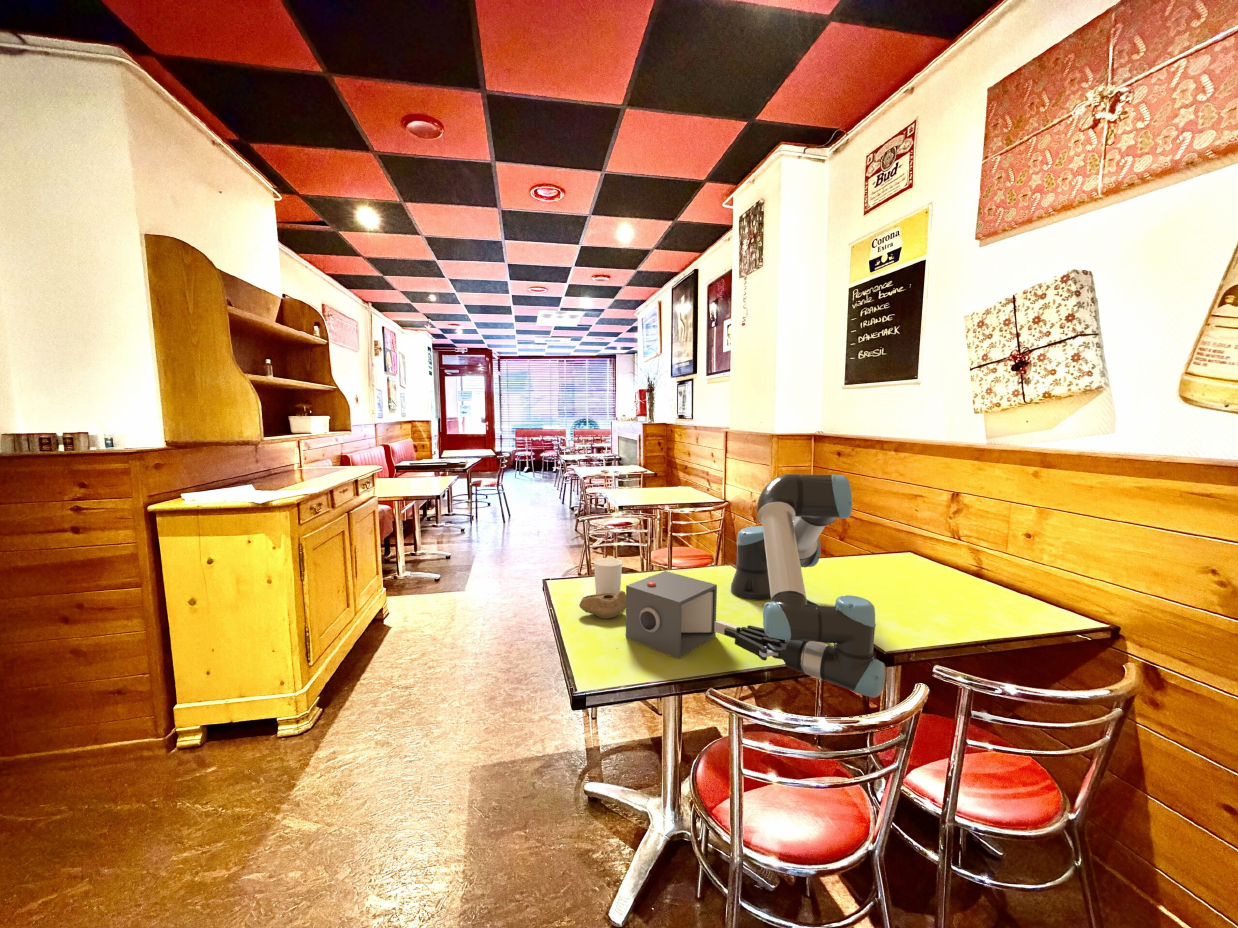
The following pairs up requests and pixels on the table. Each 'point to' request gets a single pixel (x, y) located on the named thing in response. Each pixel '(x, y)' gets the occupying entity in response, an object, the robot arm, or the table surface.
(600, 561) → the candle holder
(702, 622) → the side door
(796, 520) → the robot arm
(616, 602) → the oil lamp
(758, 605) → the table surface
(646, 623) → the cabinet with door
